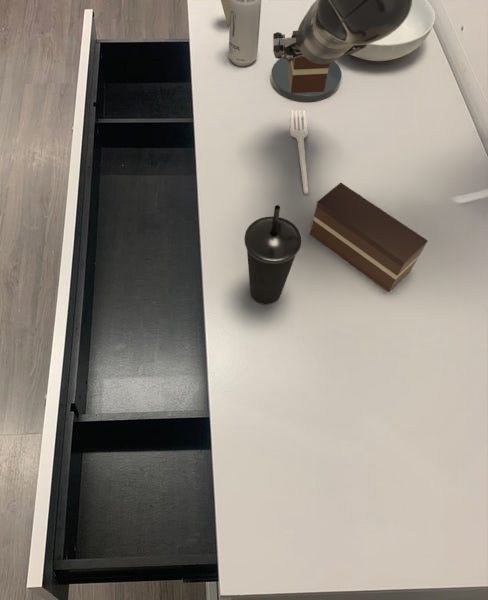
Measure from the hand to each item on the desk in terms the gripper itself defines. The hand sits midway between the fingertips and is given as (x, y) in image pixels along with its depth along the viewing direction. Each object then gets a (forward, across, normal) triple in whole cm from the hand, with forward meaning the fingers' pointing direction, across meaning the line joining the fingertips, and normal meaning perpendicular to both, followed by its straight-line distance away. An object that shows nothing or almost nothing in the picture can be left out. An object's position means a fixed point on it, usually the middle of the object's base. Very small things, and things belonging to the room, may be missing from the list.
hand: (307, 53), depth 87 cm
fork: (+7, 0, -16) cm, 17 cm away
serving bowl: (+29, +19, +6) cm, 35 cm away
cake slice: (+2, 0, -4) cm, 5 cm away
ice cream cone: (+35, -12, +13) cm, 39 cm away
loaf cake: (-9, +7, -32) cm, 34 cm away
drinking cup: (-14, -8, -37) cm, 40 cm away
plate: (+22, +3, -1) cm, 22 cm away
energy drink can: (+27, -9, +4) cm, 29 cm away
